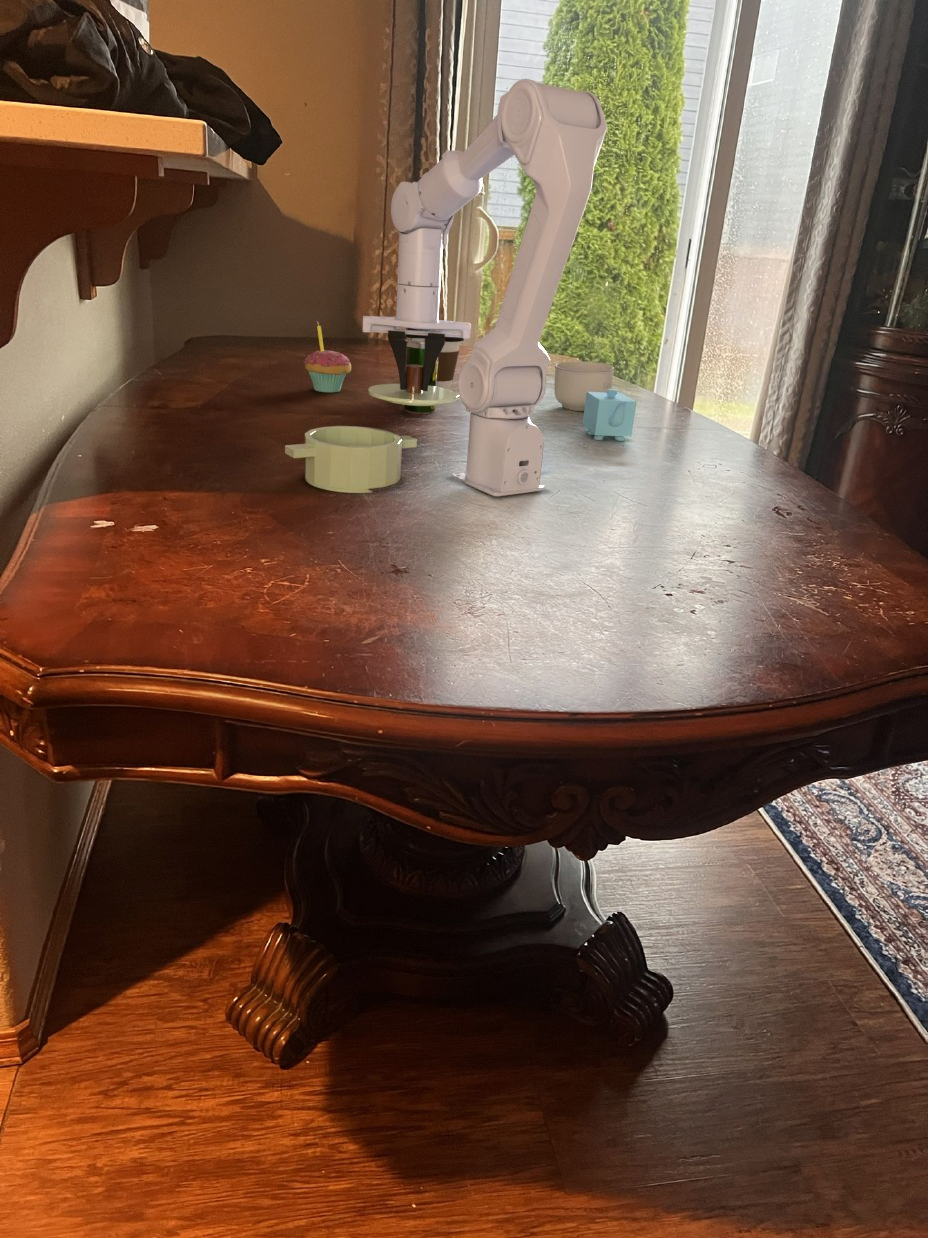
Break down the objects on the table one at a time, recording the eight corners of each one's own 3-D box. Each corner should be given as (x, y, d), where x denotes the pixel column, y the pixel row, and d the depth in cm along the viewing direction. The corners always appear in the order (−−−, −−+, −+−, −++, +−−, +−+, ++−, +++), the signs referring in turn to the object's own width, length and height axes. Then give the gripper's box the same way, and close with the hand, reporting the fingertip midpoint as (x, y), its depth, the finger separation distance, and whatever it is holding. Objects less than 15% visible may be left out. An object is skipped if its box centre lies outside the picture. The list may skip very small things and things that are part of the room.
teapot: (637, 447, 140) (645, 398, 137) (600, 445, 139) (607, 396, 135) (613, 430, 150) (620, 384, 147) (579, 428, 149) (584, 383, 146)
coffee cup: (438, 403, 161) (442, 333, 156) (390, 393, 166) (393, 326, 162) (471, 396, 170) (476, 330, 165) (424, 387, 175) (427, 323, 170)
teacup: (612, 416, 162) (618, 370, 159) (552, 411, 162) (557, 366, 158) (602, 402, 175) (608, 360, 171) (547, 398, 174) (551, 355, 171)
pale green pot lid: (476, 405, 124) (478, 371, 122) (398, 410, 117) (400, 374, 115) (426, 389, 133) (427, 357, 131) (351, 393, 126) (351, 359, 124)
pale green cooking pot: (435, 484, 111) (438, 441, 109) (312, 499, 102) (312, 453, 100) (386, 462, 120) (388, 422, 118) (268, 474, 110) (267, 430, 108)
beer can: (404, 416, 148) (407, 341, 144) (401, 409, 153) (405, 336, 148) (436, 417, 149) (440, 343, 144) (433, 411, 154) (437, 338, 149)
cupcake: (297, 391, 162) (297, 321, 157) (312, 384, 169) (313, 317, 165) (343, 396, 161) (345, 326, 156) (356, 388, 168) (358, 322, 164)
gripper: (469, 286, 123) (462, 387, 129) (363, 279, 121) (361, 381, 127) (475, 290, 117) (467, 396, 122) (363, 282, 115) (361, 390, 120)
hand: (413, 389), depth 124 cm, fingers closed on pale green pot lid, 2 cm apart
